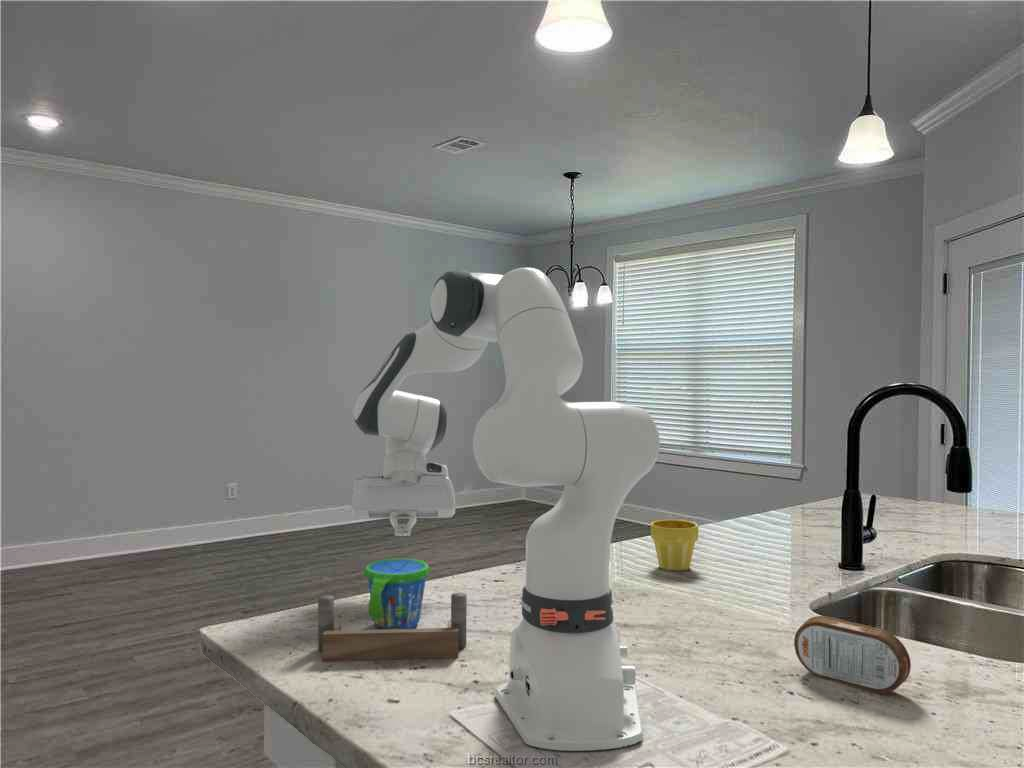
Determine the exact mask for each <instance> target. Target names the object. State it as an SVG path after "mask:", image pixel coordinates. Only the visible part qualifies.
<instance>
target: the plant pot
mask: <svg viewBox="0 0 1024 768" xmlns="http://www.w3.org/2000/svg"><path fill="white" fill-rule="evenodd" d="M650 537H651V539H652V540H653V542H654V543H653V544H654V546H655V552H656V557H657V561H658V567H659V568H660V569H662V570H665V569H666V571H671V570H673V572H679V571H680V572H681V571H687V570H689V569H690V567H691V564H692V560H693V559H692V558H693V554H694V549H695V545H696V542H697V541H698V540H699V525H698V523H696V522H694V521H690V520H685V519H683V520H682V519H659V520H654V521H652V522H651V523H650Z"/></svg>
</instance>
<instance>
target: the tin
mask: <svg viewBox="0 0 1024 768" xmlns="http://www.w3.org/2000/svg"><path fill="white" fill-rule="evenodd" d="M793 642H794V643H793V645H794V650H795V651H794V652H795V654H796V657H797V659H798V661H799V662H800V663H801V665H802V666H803V667H804V668H805V669H806V670H807V671H808V672H809V673H810V674H813V675H814V676H816V677H818V678H821V679H824V680H828V681H831V682H836V683H839V684H843V685H846V686H850V687H853V688H858V689H860V690H865V691H868V692H870V693H871V692H872V693H878V694H886V693H890V692H893V691H895V690H897V689H898V688H899V687H900V686H901V685H902V684H904V682H906V681H907V679H908V678H909V677H910V672H911V669H912V668H911V667H912V665H911V664H912V663H911V658H910V654H909V652H908V650H907V648H906V647H905V645H904V644H903V642H902V641H901V640H900V639H899V638H898V637H897V636H895V635H894V634H893V633H891V632H889V631H888V630H885V629H882V628H879V627H874V626H870V625H865V624H861V623H857V622H851V621H848V620H843V619H839V618H836V617H835V618H834V617H831V616H826V615H818V616H813V617H810V618H808V619H807V620H806V621H805V622H803V624H802V625H801V626H800V627H799V628H798V630H797V631H796V633H795V635H794V640H793Z"/></svg>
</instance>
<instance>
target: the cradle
mask: <svg viewBox="0 0 1024 768" xmlns="http://www.w3.org/2000/svg"><path fill="white" fill-rule="evenodd" d="M450 596H451V598H450V599H451V600H450V602H451V603H450V606H451V607H450V619H449V620H447V627H438V628H437V627H432V628H431V627H430V628H411V629H385V630H383V629H351V630H342V622H335V596H334V595H327V594H324V595H321V596H320V595H319V596H318V598H317V599H318V600H317V603H318V605H317V608H318V610H317V611H318V613H317V615H318V616H317V623H318V626H317V650H318V651H319V652H320V651H321V652H322V662H339V661H340V662H342V661H344V662H346V661H348V662H349V661H350V662H351V661H376V660H377V661H378V660H379V661H381V660H415V659H417V660H418V659H419V660H420V659H421V660H422V659H450V658H451V659H454V658H455V659H456V658H457V659H458V658H459V649H463V648H466V647H467V613H468V612H467V611H468V610H467V606H468V605H467V599H468V598H467V593H464V592H454V593H452V594H451V595H450Z"/></svg>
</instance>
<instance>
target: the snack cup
mask: <svg viewBox="0 0 1024 768" xmlns="http://www.w3.org/2000/svg"><path fill="white" fill-rule="evenodd" d="M429 573H430V566H429V565H428V563H427V562H425V561H423V560H420V559H413V558H402V557H401V558H399V557H398V558H387V559H380V560H376V561H373V562H370V563H368V564H367V565H366V566H365V568H364V576H365V577H366V580H367V581H368V582H367V583H368V589H369V597H370V598H369V603H368V608H367V609H368V610H367V612H368V615H369V617H370V618H371V619H372V620H373V621H374V627H378V628H379V630H385V629H414V628H416V626H417V625H418V624H419V622H420V619H421V612H422V607H423V600H424V594H425V593H424V592H425V587H426V579H427V576H428V575H429Z"/></svg>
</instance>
